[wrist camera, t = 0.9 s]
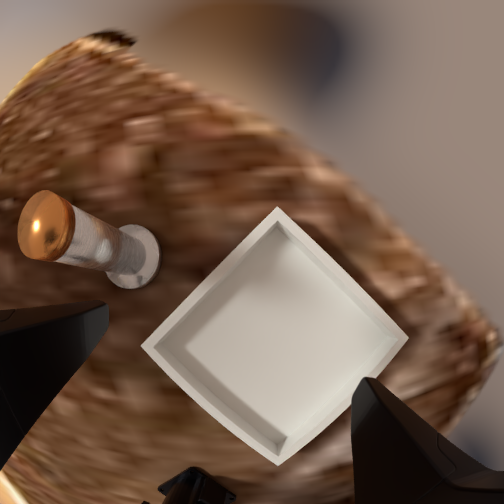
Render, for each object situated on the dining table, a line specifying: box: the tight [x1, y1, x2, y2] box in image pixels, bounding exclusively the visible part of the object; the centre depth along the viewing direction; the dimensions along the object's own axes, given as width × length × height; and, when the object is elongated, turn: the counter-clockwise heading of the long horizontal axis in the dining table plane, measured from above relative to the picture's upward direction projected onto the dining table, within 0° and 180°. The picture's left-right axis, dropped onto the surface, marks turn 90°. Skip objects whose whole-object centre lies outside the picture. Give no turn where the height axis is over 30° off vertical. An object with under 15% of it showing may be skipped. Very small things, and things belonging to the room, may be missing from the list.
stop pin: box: [18, 190, 162, 289], centre depth 18 cm, size 6×6×14 cm
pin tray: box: [141, 207, 409, 466], centre depth 22 cm, size 16×16×3 cm
